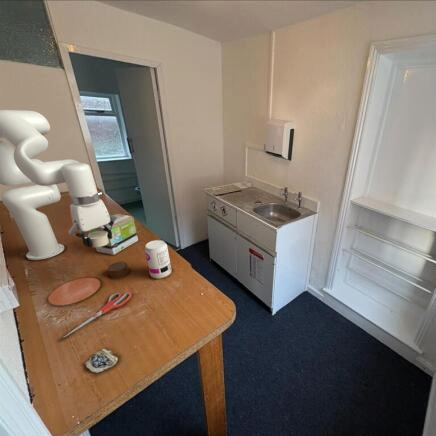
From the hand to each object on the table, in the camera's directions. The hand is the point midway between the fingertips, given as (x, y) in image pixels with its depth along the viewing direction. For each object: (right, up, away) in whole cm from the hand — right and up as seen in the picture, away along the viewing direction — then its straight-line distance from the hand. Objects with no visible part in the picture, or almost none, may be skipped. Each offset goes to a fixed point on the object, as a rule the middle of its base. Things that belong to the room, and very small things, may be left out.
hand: (99, 241), depth 90 cm
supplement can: (+18, -15, +12) cm, 26 cm away
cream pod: (0, -1, 0) cm, 1 cm away
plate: (-8, -19, -1) cm, 21 cm away
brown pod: (+1, -15, +10) cm, 18 cm away
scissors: (+9, -25, -10) cm, 28 cm away
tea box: (-13, -5, +28) cm, 32 cm away
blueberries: (+21, -32, -24) cm, 45 cm away
